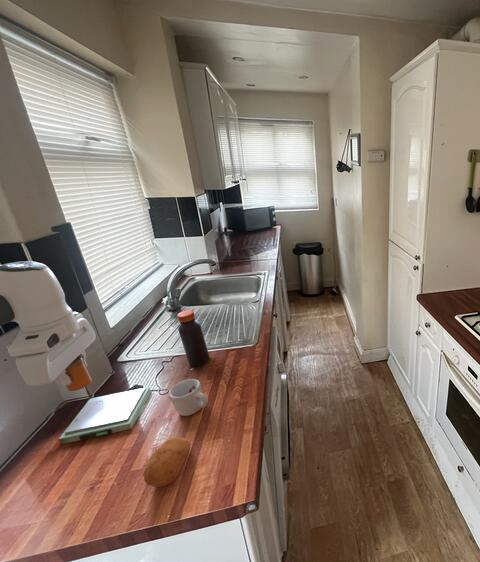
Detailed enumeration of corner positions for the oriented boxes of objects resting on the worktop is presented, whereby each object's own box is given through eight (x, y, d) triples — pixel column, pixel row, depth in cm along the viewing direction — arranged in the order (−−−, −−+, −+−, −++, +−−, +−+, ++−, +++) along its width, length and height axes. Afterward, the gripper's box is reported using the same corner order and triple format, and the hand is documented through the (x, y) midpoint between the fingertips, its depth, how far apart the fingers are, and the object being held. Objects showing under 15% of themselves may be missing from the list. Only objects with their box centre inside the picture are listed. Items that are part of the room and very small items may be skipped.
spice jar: (62, 393, 76) (50, 369, 73) (74, 380, 80) (63, 357, 77) (86, 389, 77) (74, 365, 74) (96, 376, 81) (85, 354, 78)
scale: (60, 446, 80) (56, 439, 79) (92, 404, 94) (88, 397, 93) (130, 430, 84) (127, 423, 83) (151, 392, 98) (148, 385, 97)
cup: (219, 403, 93) (213, 382, 90) (199, 424, 86) (192, 402, 83) (191, 397, 96) (184, 376, 93) (169, 416, 89) (161, 395, 86)
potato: (142, 499, 67) (128, 475, 65) (171, 452, 79) (161, 430, 77) (175, 491, 68) (163, 467, 65) (199, 445, 80) (190, 423, 78)
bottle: (200, 368, 109) (185, 319, 101) (184, 365, 111) (169, 317, 103) (214, 357, 115) (201, 309, 107) (199, 354, 117) (185, 307, 109)
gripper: (63, 310, 81) (84, 354, 86) (0, 355, 62) (30, 407, 68) (92, 307, 82) (110, 350, 87) (38, 349, 64) (65, 401, 69)
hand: (75, 375), depth 77 cm, fingers closed on spice jar, 4 cm apart
